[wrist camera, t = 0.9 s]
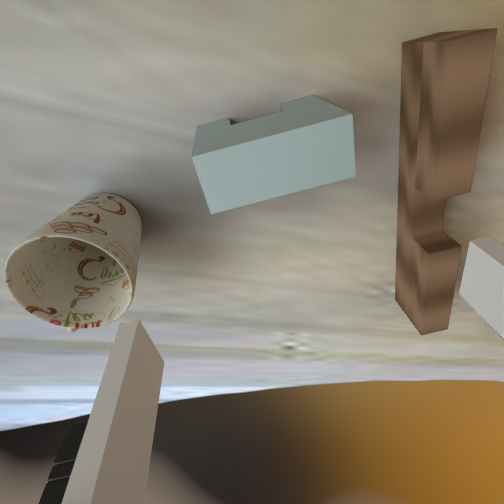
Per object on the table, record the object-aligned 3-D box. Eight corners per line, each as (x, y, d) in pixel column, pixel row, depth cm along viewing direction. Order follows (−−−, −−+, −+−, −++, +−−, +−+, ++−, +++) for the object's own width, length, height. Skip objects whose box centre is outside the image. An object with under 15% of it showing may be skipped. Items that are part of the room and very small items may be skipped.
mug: (161, 194, 30) (141, 252, 21) (140, 294, 36) (118, 370, 27) (64, 168, 28) (0, 220, 19) (59, 279, 34) (8, 356, 25)
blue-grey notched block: (197, 126, 27) (191, 157, 19) (312, 95, 26) (352, 113, 19) (211, 171, 29) (211, 214, 21) (318, 142, 29) (355, 176, 21)
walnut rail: (402, 42, 25) (449, 41, 20) (440, 32, 25) (497, 28, 20) (395, 299, 40) (421, 335, 35) (418, 293, 40) (447, 329, 35)
